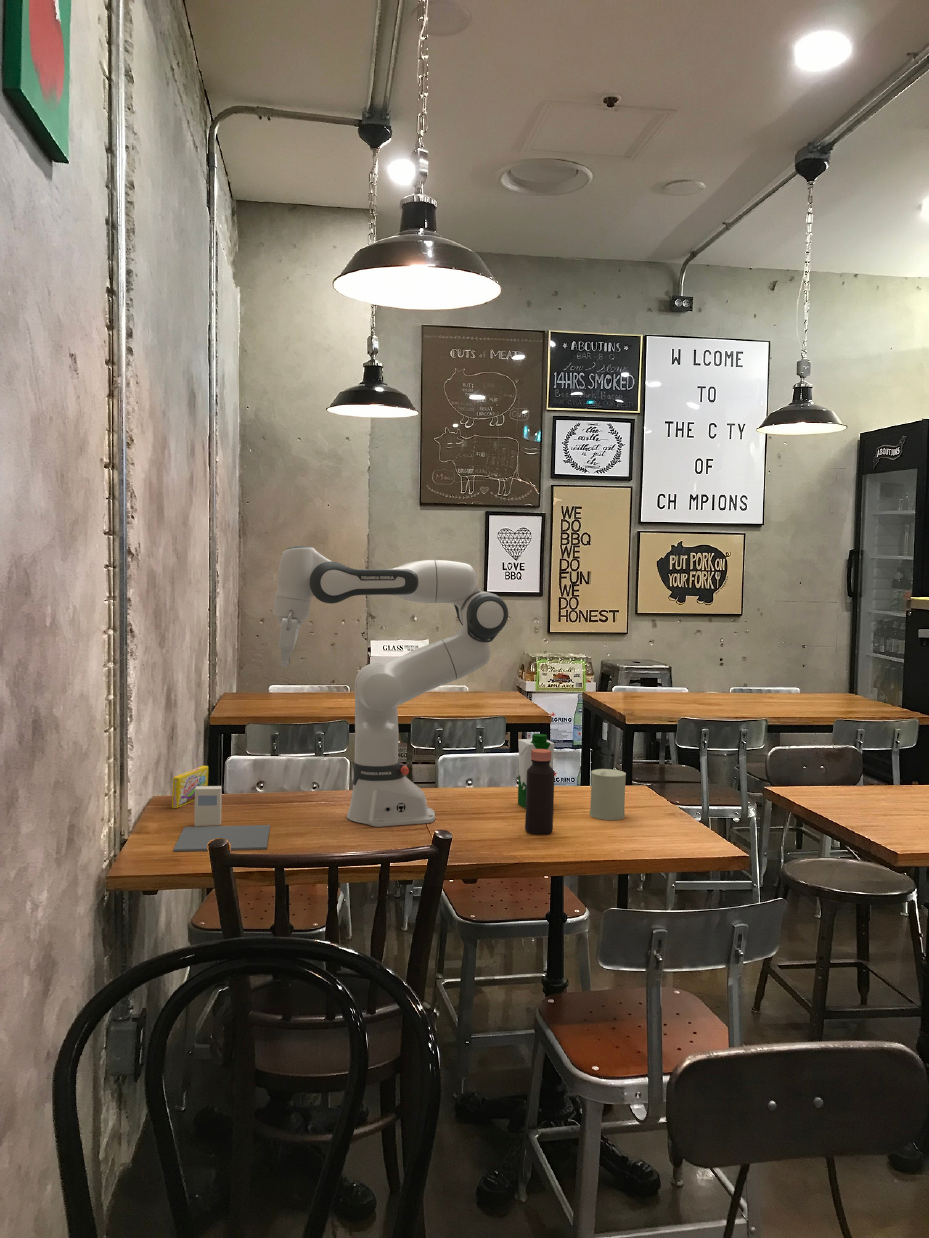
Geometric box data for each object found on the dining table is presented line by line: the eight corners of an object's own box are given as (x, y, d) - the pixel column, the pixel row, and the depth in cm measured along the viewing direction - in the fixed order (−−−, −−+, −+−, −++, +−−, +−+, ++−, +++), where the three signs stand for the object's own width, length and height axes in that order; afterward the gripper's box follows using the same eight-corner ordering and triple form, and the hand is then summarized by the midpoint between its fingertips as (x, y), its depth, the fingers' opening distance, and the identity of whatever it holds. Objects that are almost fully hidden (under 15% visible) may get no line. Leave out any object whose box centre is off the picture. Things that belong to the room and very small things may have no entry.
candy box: (178, 809, 232) (178, 777, 232) (170, 808, 232) (171, 777, 232) (208, 795, 248) (208, 765, 248) (201, 794, 248) (201, 764, 248)
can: (582, 815, 236) (584, 770, 236) (602, 809, 243) (603, 765, 242) (612, 822, 230) (613, 776, 229) (631, 816, 237) (633, 771, 236)
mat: (269, 827, 217) (269, 825, 217) (266, 849, 200) (266, 847, 200) (184, 828, 214) (184, 826, 214) (173, 851, 196) (173, 849, 196)
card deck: (221, 822, 221) (221, 785, 220) (219, 825, 218) (220, 788, 217) (195, 822, 220) (196, 786, 219) (194, 826, 217) (194, 789, 216)
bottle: (524, 827, 223) (526, 747, 222) (551, 828, 223) (554, 748, 222) (525, 834, 217) (527, 752, 216) (553, 835, 216) (556, 753, 216)
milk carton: (525, 811, 239) (527, 737, 238) (513, 803, 247) (515, 731, 246) (555, 809, 241) (558, 735, 241) (542, 801, 250) (544, 730, 249)
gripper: (303, 613, 213) (296, 670, 213) (305, 610, 233) (298, 662, 234) (276, 610, 212) (269, 667, 212) (280, 607, 232) (274, 659, 233)
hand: (285, 665), depth 223 cm, fingers open, 8 cm apart
